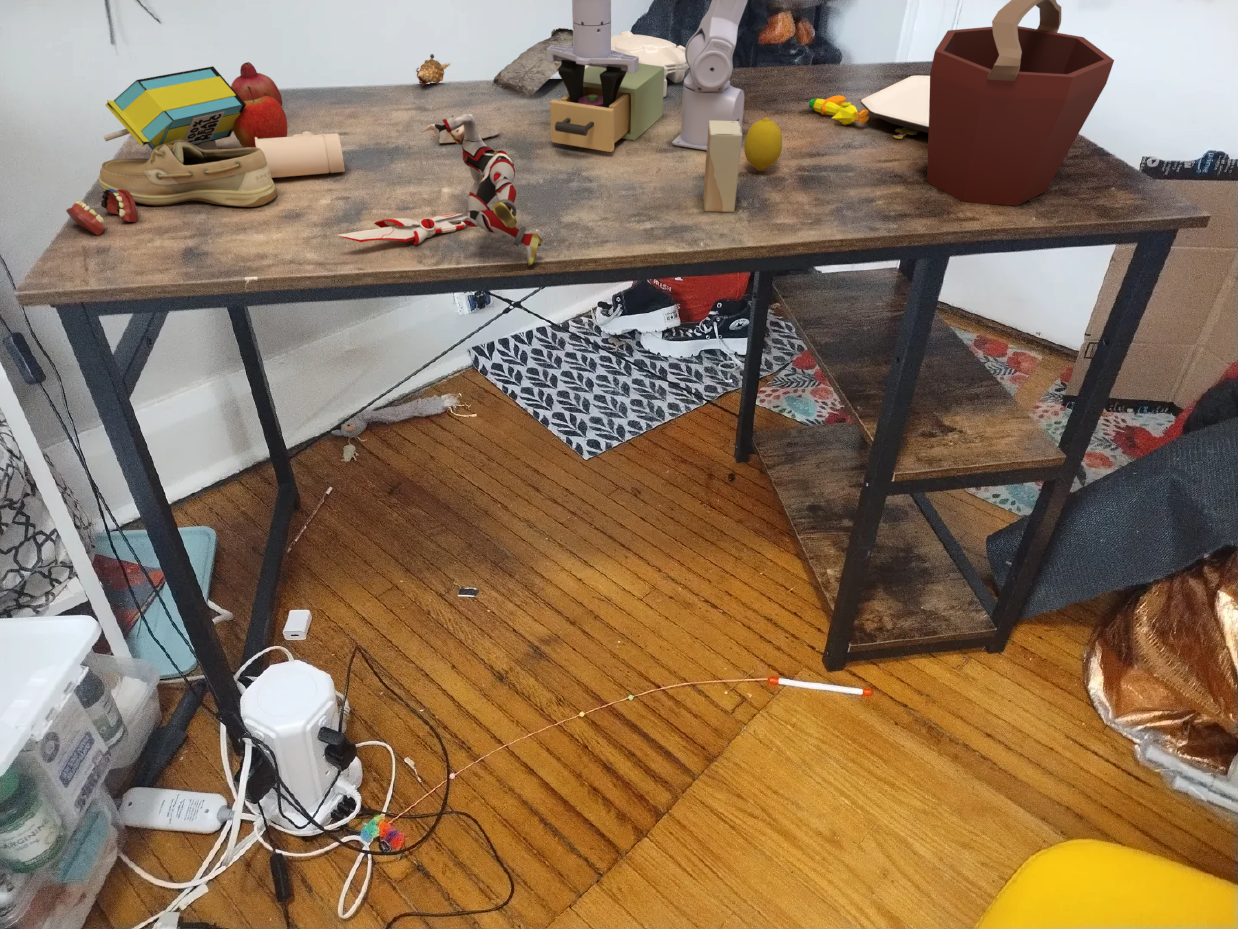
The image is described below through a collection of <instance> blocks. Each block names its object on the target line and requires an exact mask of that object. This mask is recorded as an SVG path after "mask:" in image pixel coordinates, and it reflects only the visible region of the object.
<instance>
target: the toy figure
mask: <svg viewBox="0 0 1238 929" xmlns="http://www.w3.org/2000/svg"><path fill="white" fill-rule="evenodd" d="M808 107H809V109H812V111H814V112H817V113H820V114H821V115H823V116H824V115H827V116H832V117H831V119H833V120H836V121H838V122H839V123H841V125H843V126H848V125H850V124H852V123H854V122H856V121H857V122H858V123H859V124H864V123H866V122H867V121H868V120H869V119H870V118H869V115H868V114H869V111H868V110H867V109H862V110H860V112H858V110H857V107H856V105H854V104H852V102H849V101H848V102H847V98H846V96H844V95H841V94H838V95H837V94H836V95H833V96H830V97H828V98H826V99H823V98H819V97H816V98H811V99H810V100H809V103H808Z"/></svg>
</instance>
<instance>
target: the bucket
mask: <svg viewBox="0 0 1238 929" xmlns="http://www.w3.org/2000/svg"><path fill="white" fill-rule="evenodd" d="M1035 6H1036V7H1037V8H1038V10H1039V24H1038V26H1037V28H1034V27H1033V28H1032V27H1026V26H1019V24H1020V23H1021V21H1022V20H1023V18H1024V17H1025V16H1026V15H1027V14H1028V13H1029V12H1030V11H1031V10H1032V9H1033V8H1034V7H1035ZM1061 24H1062V6H1061V5H1060V4H1059V3H1058V2H1057V0H1010V1H1008V2H1007V3H1005V5H1004V6H1002V8H1000V9H999V10H998V11H997V12H996V14H995V16H994V17H993V19H992V21H991V25H992V26H982V27H971V28H959V29H949V30H947V31H946V33H945V34H944V36H943V37H942V39H941V40H940V42H939V44H938V45H937V47H936V48H935V50H934V54H933V59H932V63H931V68H930V72H929V76H930V98H929V133H928V135H927V136H928V140H927V141H928V143H927V145H928V146H927V173H926V174H927V176H926V180H927V181H926V182H927V183H928V184H930V185H932V186H934V187H935V188H937V189H939V190H941V191H943V192H945V193H946V194H948V195H950V196H952V197H954V198H955V199H957V200H959V201H961V202H963V203H967V202H968V203H976V204H987V205H989V204H990V205H1002V206H1015V207H1018V206H1020V205H1023V204H1024V203H1026V202H1028V201H1030V200H1031V199H1034V198H1036V197H1038V196H1041V194H1043V193H1045V192H1047V191H1048V189H1049V187H1050V185H1051V183H1052V182H1053V180H1054V179H1055V176H1056V174H1057V173H1058V171H1059V169H1060V167H1061V166H1062V164H1063V162H1064V160H1065V159H1066V157H1067V155H1068V153H1069V151H1070V149H1071V148H1072V146H1073V144H1074V142H1075V140H1076V139H1077V137H1078V135H1079V134H1080V132H1081V130H1082V129H1083V126H1084V125H1085V122H1086V121H1087V119H1088V117H1089V116H1090V114H1091V112H1092V111H1093V108H1094V106H1095V105H1096V103H1097V101H1098V100H1099V98H1100V95H1101V94H1102V93H1103V91H1104V89H1105V87H1106V85H1107V83H1108V80H1109V77H1110V74H1111V71H1112V69H1113V66H1114V62H1115V59H1113V58H1112V57H1111V56H1109V55H1108V54H1107V53H1105V52H1104V51H1102V50H1101V49H1100V48H1098V47H1097V46H1096V45H1095V44H1093V43H1092V42H1090V41H1089V40H1088V39H1086V38H1085V37H1084V36H1079V35H1074V34H1067V33H1061V32H1059V29H1060V27H1061Z"/></svg>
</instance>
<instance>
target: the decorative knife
mask: <svg viewBox="0 0 1238 929" xmlns="http://www.w3.org/2000/svg"><path fill="white" fill-rule="evenodd" d="M895 132H896V133H899V134H896V135H892V137H893V138H894V139H898V140H903V139H904V137H905V136H907V135H909V136H915V135H918V133H921V132H922V131H918V130H914V129H911V128H907V127H903V126H902V127H901V128H900V127H899V128H898V127H897V128H896V129H895Z"/></svg>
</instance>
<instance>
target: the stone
mask: <svg viewBox="0 0 1238 929" xmlns="http://www.w3.org/2000/svg"><path fill="white" fill-rule="evenodd" d="M552 45H556V46H573V29H571V28H570V29H569V28H565V27H564V28H563V27H558V28H554V29H552V30H551V32H550V37H549V38H546V39H543V40H541V41H538V42H537V43H535V44H533V45H532V46H530V47H529V48H527V49H526V50H525V51H523V52H521V53H520V54H519V55H518V57H517V58H515V59H514V60H513V61H512V62H510V63H509V64H506V66H504V68H503V69H501V70H499V72H498V73H497V75H495V76H494V77H493V81H492V82H493V83H492V86H495V87H496V88H500V89H502V90H506V91H507V92H509V93H511V94H514V95H520V96H522V97H529V96H531V95H534V94H535V93H537V91H538V90H539V89H540V88H542V86H543V85H544V84H545V83H547V81H548V80H550V79H551V78H552V77H553V76H554V75H555V74H557V73H558V68H560V67H561V62H559V61H554V62H548V61H547V48H548V47H550V46H552Z"/></svg>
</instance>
